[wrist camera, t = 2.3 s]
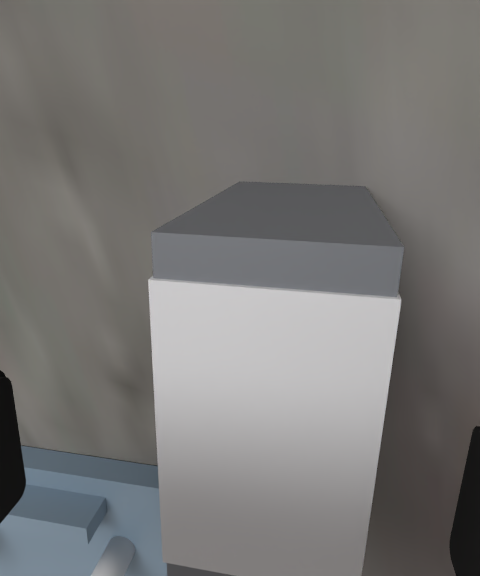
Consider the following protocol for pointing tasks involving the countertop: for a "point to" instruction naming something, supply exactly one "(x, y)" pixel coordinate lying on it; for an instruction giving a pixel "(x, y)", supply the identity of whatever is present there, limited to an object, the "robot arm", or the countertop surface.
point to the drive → (272, 377)
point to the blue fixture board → (83, 518)
